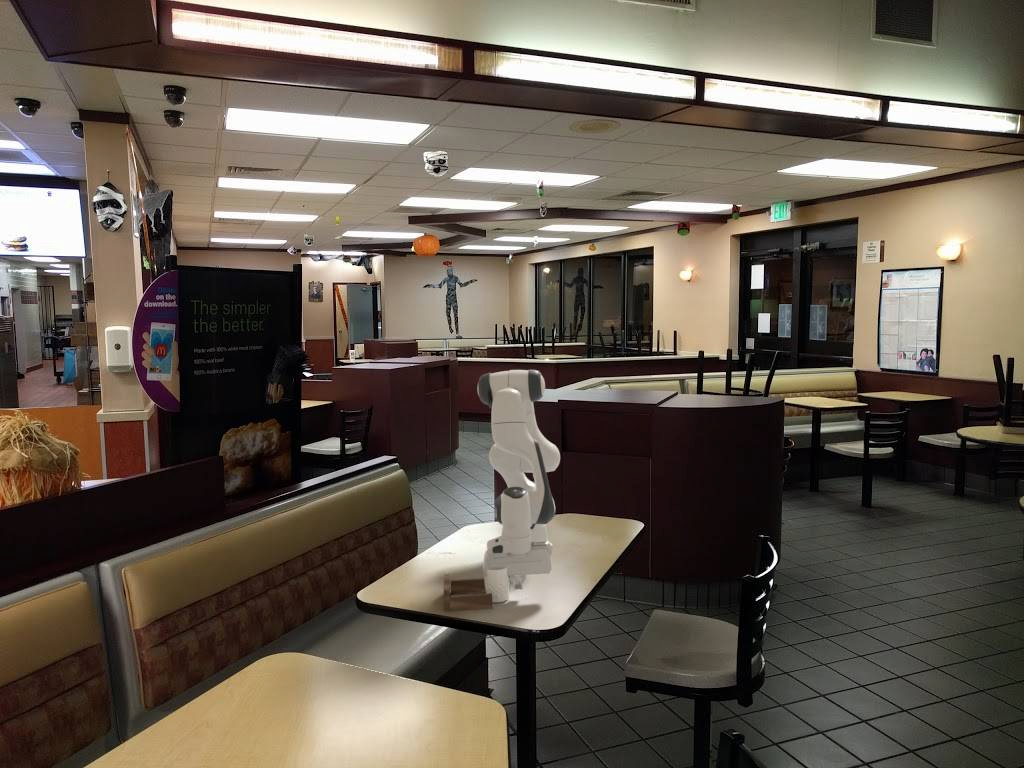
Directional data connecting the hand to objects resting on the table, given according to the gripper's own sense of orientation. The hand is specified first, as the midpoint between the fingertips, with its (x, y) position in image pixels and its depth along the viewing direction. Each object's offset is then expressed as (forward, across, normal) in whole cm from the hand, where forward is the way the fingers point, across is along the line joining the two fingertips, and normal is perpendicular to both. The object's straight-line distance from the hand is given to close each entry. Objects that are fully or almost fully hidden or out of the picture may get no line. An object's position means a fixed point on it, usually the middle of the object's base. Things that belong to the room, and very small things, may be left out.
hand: (517, 588), depth 200 cm
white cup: (+3, +6, -1) cm, 7 cm away
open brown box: (+3, +14, -1) cm, 14 cm away
